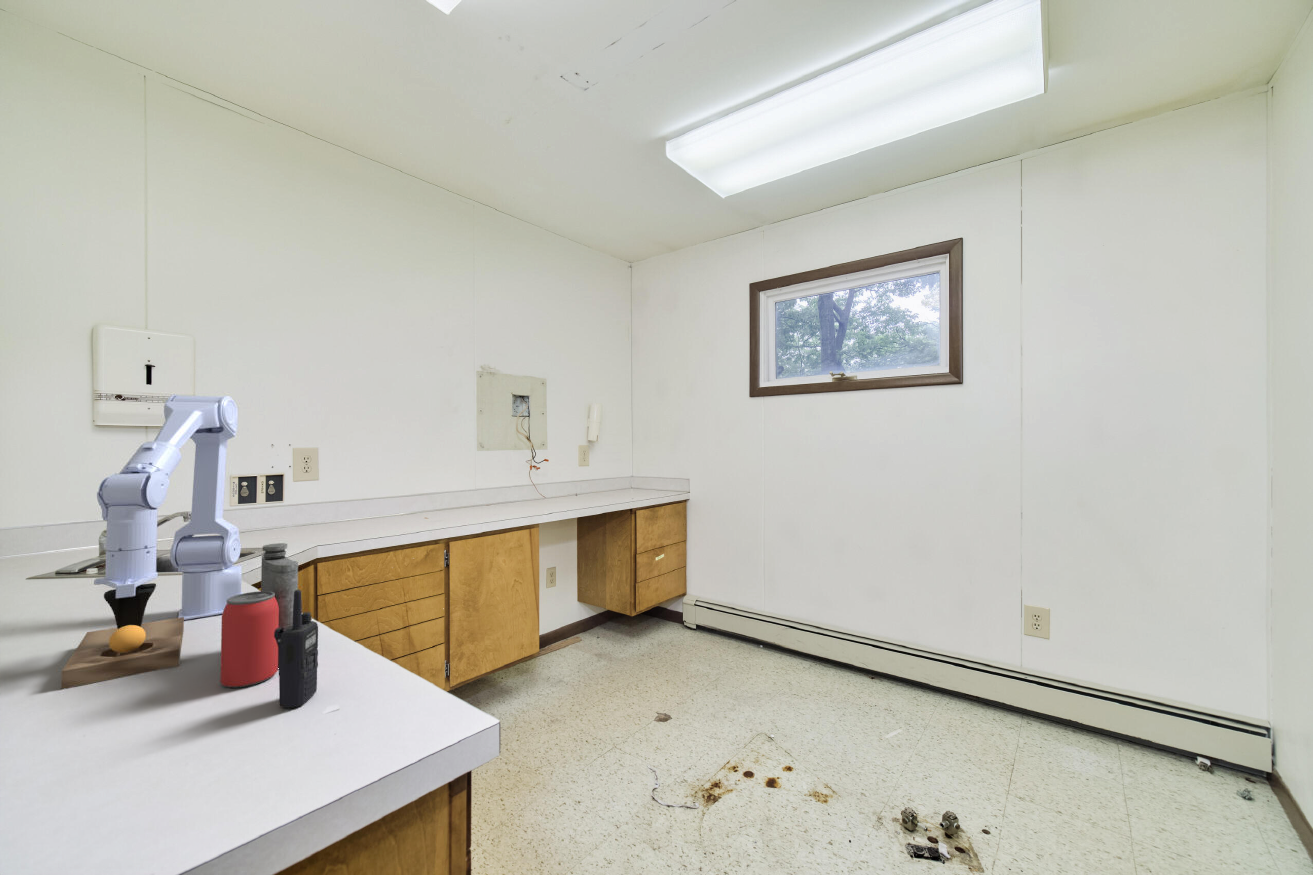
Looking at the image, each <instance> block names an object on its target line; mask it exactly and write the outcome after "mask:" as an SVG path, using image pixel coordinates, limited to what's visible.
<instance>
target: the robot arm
mask: <svg viewBox="0 0 1313 875" xmlns="http://www.w3.org/2000/svg"><path fill="white" fill-rule="evenodd" d="M238 410H239V409H238V407H237V405H236V402H235V401H234V399H233V398H232V397H231V396H229V395H224V396H216V395H214V396H212V395H210V396H207V395H180V394H171V395H170V396H168V398H167V399H166V400H165V402H164V406H163V413H164V414H163V415H164V420H165V421H164V423H163V424H162V425H161V428H160V430H159V431H158V433H157V435H156V437H155V438H154V440H153V441H147V442H144V443H142V444H140V446H139V448H138V449H137V450H136V451H135V453H134V454H133V455H132V456H131V458H130V459H129V460H128V461H127V463H126V464H125V465H124V466H123V467H122V469H121V470H120V472H119V473H113V474H110V476H108V477H105V478H103V480H102V481H101V482H100V484H99V487H98V491H97V492H96V499H97V501H98V505H99V507H100V509H101V518H102V520H103V521H105V522H106V538H105V539H106V540H105V541H106V542H105V575H104V576H105V577H97V578H95V579H94V580H93V585H95V586H96V585H105V586H107V587H109V588H113V589H110V590H107V591H105V592H104V594H103V599H104V600H105V602H106V603H107V604H108V605H109V607H110V608H111V611H112V613H113V615H114V619H115V623H116V628H118V629H119V628H121V627H124V626H128V625H136V626H139V627H141V624H142V623H143V621H144V616H145V611H146V608H147V604H148V602H149V600H150V597H152V595H153V593H154V591H155V590H156V587H157V583H155V582H154V583H153V582H152V583H149V582H151V581H153V580H156V579H157V578H158V577H159V576H158V575H159V573H158V571H157V553H158V552H157V550H158V549H157V546H158V544H157V543H158V542H157V541H158V511H159V510H158V509H159V507H161V506H162V505H163V504H164V503H165V501H166V498H167V496H168V489H169V486H170V483H171V482H170V480H169V479H170V477H171V476H172V474H173V473H174V471H175V469H177V467H178V465H179V464H180V462H181V460H182V454H181V452H180V449H181V448H182V447H183V446H184V445H185V443H187V441H189V439H191V440H192V442H194V444H195V448H194V449H195V451H194V465H193V466H194V467H193V483H192V498H191V499H192V500H191V511H190V512H191V514H190V515H191V517H190V521H189V522H188V523H186V524H185V525H184V526H182V527H180V528H179V529H177V530H176V531H175V532H174V536H173V537H174V538H173V543H172V544H171V547H170V550H169V560H170V562H171V564H172V566H173V567H174V568H176V569H177V572H178V573H182V575H181V576H182V577H181V580H182V581H181V608H180V609H179V611H178V617H177V618H180V617H184V621H186V620H191V619H198V618H199V619H200V618H206V617H213V616H216V615H217V616H218V615H222V614H223V610H224V608H225V606H226V604H227V599H228V598H230V597H233V596H235V595H239V594H244V592H243V591H242V565H240V564H239V565H238V564H237V565H234V564H235V563H236V562H237V561H238V560H239V558H240V555H241V551H242V545H241V539H240V530H239V527H237V526H236V525H234V524H232V523H231V522H229V521H227V520H225V519H224V518H223V517H224V502H225V500H224V499H225V485H226V484H225V483H226V465H227V451H228V450H227V449H228V441H229V440H230V439H232V438H235V437H237V431H238V416H239V411H238ZM213 534H214V535H213ZM215 534H216V535H215ZM195 535H196V536H195ZM197 535H199V536H197ZM200 535H202V536H200Z"/></svg>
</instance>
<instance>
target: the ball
mask: <svg viewBox="0 0 1313 875" xmlns="http://www.w3.org/2000/svg"><path fill="white" fill-rule="evenodd" d="M145 638H146V633H145V631H144V629H143V628H141V627H139V626H136V625H128V626H124V627H121V628H119V629H118V630H116V631H115V632H114V633H113V634H112V635H111V637H110V639H109V646H110V648H111V649H112V650H114V651H115V652H119V653H127V652H131V651H133V650H135V649H137V648H138V647H140V646H141V645H142V644H143V642H144V641H145Z"/></svg>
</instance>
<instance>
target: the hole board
mask: <svg viewBox="0 0 1313 875" xmlns="http://www.w3.org/2000/svg"><path fill="white" fill-rule="evenodd" d="M184 622H185V620H184V617H180V618H178V617H174V618H169V619H163V620H161V619H160V620H156V621H149V622H144V623H143V622H142V624H141V628H143V629H144V631H145V633H146V638H145V641H144V642H143V644H142V645H141V646H140V647H138V648H137V649H135V650H133V651H131V652H127V653H119V652H115V651H114V650H112V649H111V648H110V646H109V639H110V637H111V635H112V634H113V633H114V632H115V631H116V630H118V628H117V627H111V628H105V629H99V630H92V631H88V632H86V634H85V635H84V636H83V637H82V640H80V642H79V644H78V645H77V647H76V649H75V650H74V652H73V653H72V655H70V656H71V657H70V658H69V659H68V660H67V662H66V664H65V666H64V667H63V668H62V670H61V686H60V687H61V690H65V689H64V688H66V689H69V688H70V687H71V688H75V687H74V686H76V687H80V686H86V685H89V684H95V683H101V682H104V681H110V680H113V679H119V678H124V677H130V676H135V675H138V674H144V673H149V672H154V671H158V670H164V669H168V668H174V667H178V666H180V661H181V660H180V658H181V652H182V645H183V638H184V632H185V630H184V625H185V623H184ZM71 688H70V689H71Z"/></svg>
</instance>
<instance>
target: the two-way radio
mask: <svg viewBox="0 0 1313 875" xmlns="http://www.w3.org/2000/svg"><path fill="white" fill-rule="evenodd" d="M302 598H303V597H302V590H301V589H298V590H296V591H295V592H294V603H293V626H291V627H289V628H287V629H286V630H283V629H284V628H277V629H275V632H274V638H275V639H276V642H277V645H278V652H279V669H278V679H279V680H278V681H279V682H278V684H279V685H278V686H279V688H278V689H279V693H278V694H279V700H278V701H279V706H280V707H283V709H291V708H298V707H301V706H303V705H304V704H305V703H307V702H308V701H309V700H310V699H311V698H312V697H313V696H314V695H315V694H316V692H317V687H318V667H319V662H318V660H319V659H318V658H319V657H318V656H319V649H318V648H319V625H318V623H317V621H313V620H312V614H311V612H310V611H305V612H303V609H302V608H303V602H302Z"/></svg>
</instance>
